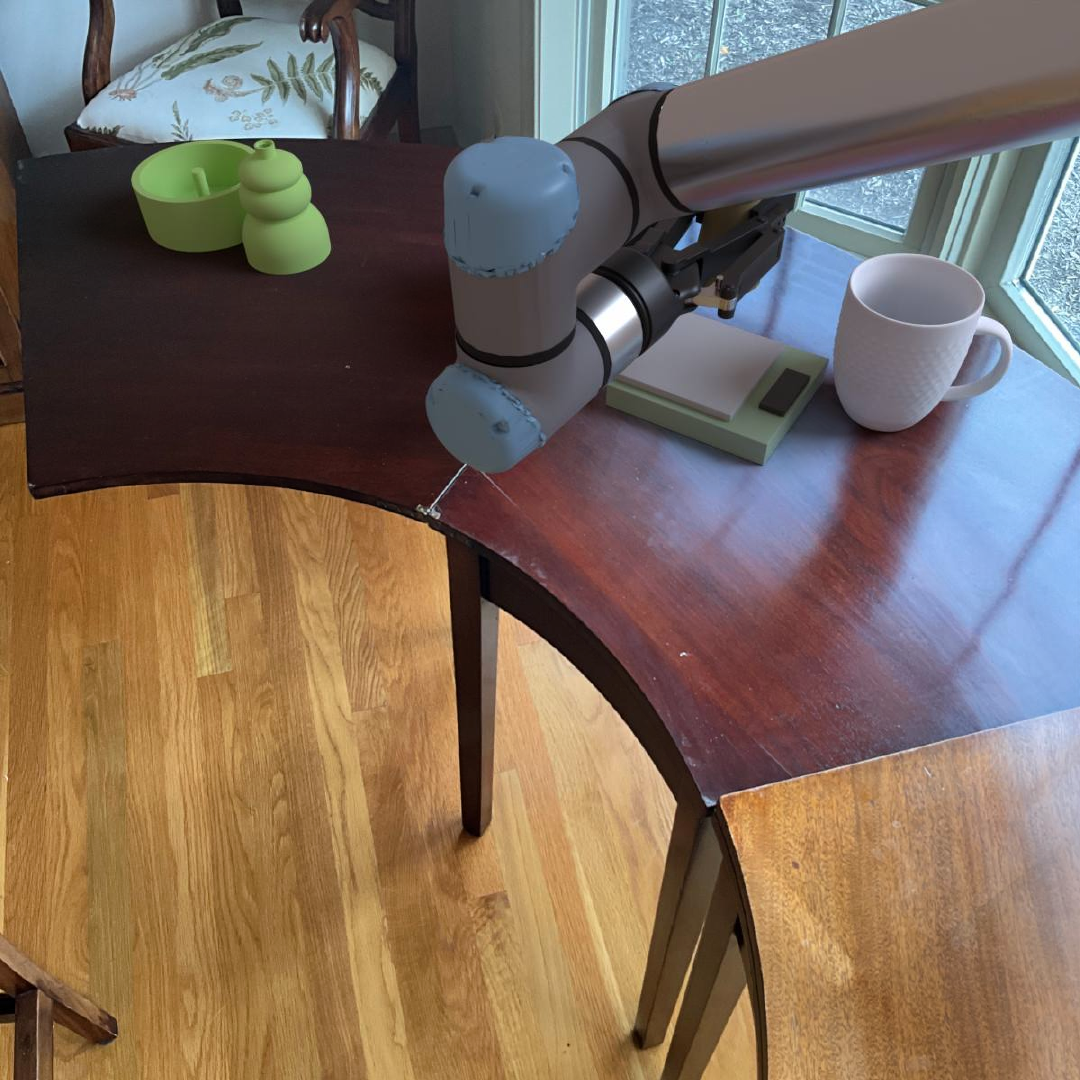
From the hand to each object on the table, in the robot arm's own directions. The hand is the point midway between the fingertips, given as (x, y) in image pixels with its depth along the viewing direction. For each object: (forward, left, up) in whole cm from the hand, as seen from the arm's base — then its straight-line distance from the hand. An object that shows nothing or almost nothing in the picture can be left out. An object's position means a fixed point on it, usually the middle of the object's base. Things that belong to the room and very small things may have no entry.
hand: (766, 184), depth 83 cm
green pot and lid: (+60, +7, -19) cm, 63 cm away
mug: (-15, -1, -19) cm, 24 cm away
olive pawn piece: (0, +5, -6) cm, 8 cm away
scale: (+1, +5, -19) cm, 20 cm away
